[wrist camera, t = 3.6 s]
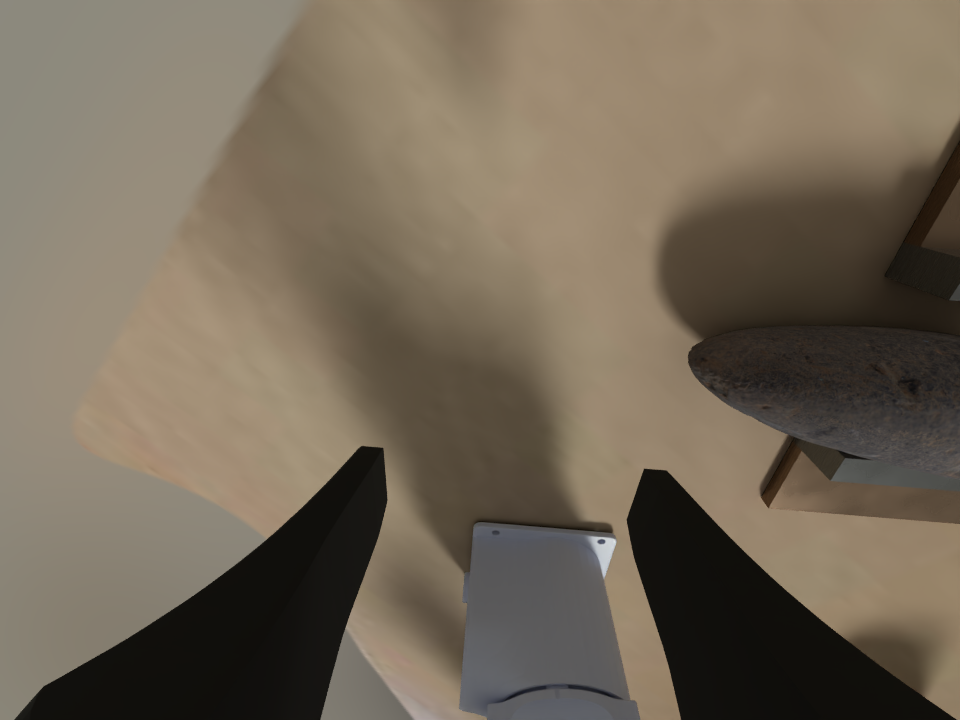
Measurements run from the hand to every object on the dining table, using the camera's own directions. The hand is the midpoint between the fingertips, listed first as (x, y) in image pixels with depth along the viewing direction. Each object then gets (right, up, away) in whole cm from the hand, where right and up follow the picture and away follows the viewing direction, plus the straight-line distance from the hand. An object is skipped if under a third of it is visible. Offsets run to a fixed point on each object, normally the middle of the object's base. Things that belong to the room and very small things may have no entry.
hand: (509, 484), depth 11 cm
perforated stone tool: (+16, +4, +9) cm, 19 cm away
